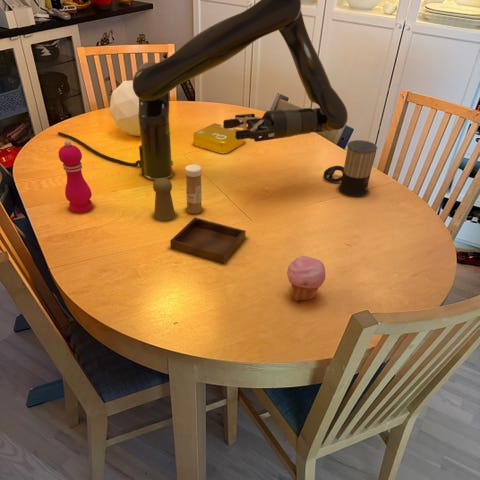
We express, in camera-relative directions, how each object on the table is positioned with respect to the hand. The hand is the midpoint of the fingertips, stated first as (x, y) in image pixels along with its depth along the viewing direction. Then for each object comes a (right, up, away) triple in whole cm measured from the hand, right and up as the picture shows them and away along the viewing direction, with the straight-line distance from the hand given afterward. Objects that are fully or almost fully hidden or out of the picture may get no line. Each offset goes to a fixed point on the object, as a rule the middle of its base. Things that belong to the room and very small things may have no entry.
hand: (229, 129), depth 128 cm
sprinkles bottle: (-11, -20, +11) cm, 25 cm away
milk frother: (+37, -8, +28) cm, 47 cm away
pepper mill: (-44, -19, +10) cm, 49 cm away
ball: (-37, +21, +55) cm, 70 cm away
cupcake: (+18, -46, -17) cm, 52 cm away
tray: (-6, -31, -2) cm, 32 cm away
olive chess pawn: (-19, -22, +8) cm, 30 cm away
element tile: (-5, +15, +51) cm, 53 cm away
